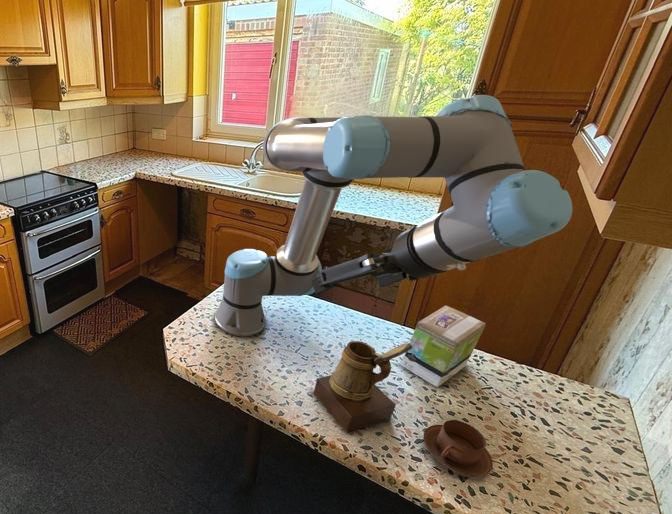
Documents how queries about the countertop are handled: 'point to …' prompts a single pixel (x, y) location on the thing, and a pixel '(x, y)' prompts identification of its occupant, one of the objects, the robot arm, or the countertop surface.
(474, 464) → the cup and saucer
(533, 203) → the robot arm
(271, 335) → the countertop surface
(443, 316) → the tea box
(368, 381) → the wooden mug
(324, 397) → the walnut block
